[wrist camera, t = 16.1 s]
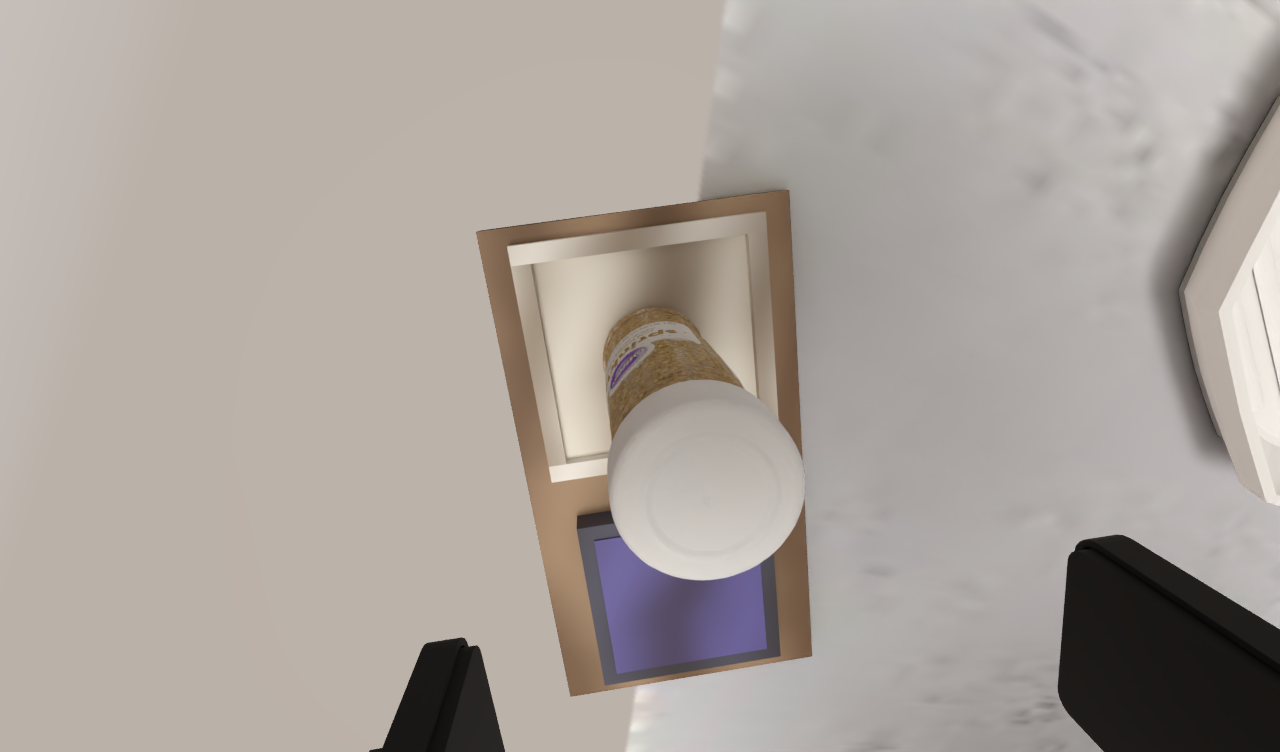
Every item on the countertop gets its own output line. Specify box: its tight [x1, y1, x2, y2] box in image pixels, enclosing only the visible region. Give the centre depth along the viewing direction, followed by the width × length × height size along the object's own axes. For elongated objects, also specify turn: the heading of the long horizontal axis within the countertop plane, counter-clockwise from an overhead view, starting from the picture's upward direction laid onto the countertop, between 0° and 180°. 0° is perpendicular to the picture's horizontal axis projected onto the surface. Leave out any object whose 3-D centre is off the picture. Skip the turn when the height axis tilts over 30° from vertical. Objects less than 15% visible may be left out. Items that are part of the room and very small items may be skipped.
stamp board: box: [476, 190, 812, 696], centre depth 28 cm, size 13×24×2 cm, turn 7°
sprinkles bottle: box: [603, 307, 805, 580], centre depth 20 cm, size 5×5×13 cm
